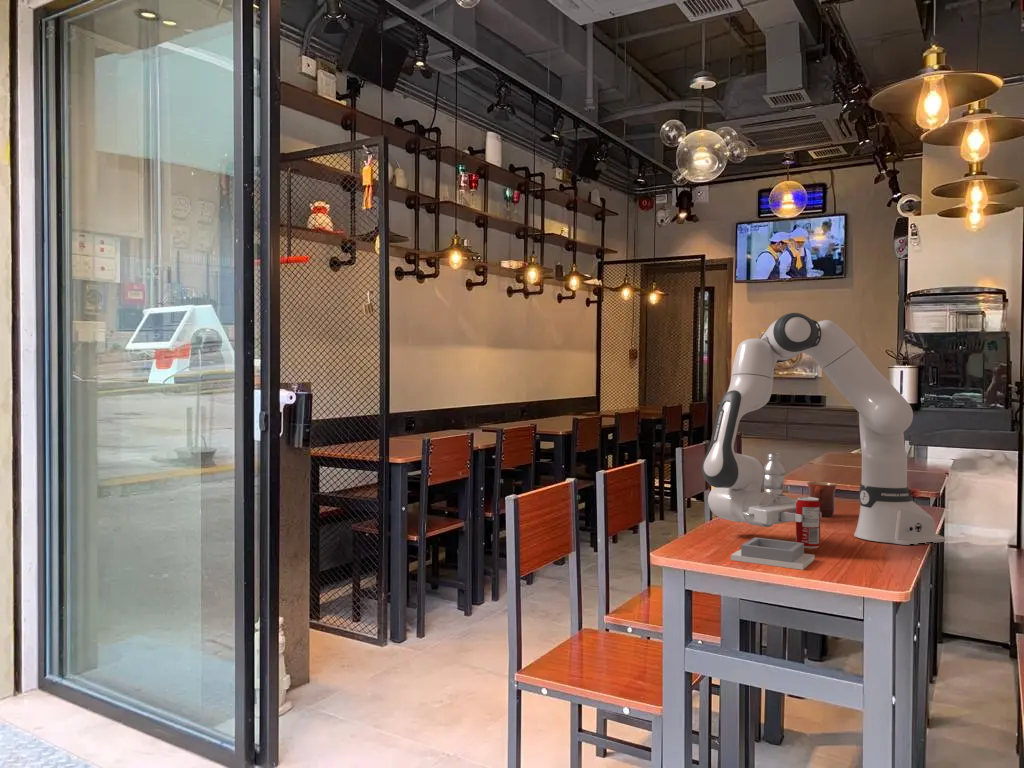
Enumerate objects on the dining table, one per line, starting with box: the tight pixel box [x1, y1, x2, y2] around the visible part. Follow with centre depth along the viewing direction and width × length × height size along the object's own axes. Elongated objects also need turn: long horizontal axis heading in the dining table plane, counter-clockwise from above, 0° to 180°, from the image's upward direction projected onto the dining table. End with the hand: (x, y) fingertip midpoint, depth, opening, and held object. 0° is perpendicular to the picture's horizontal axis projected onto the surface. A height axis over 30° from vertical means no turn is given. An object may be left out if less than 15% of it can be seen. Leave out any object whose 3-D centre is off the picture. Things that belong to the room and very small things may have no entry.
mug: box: [806, 481, 838, 518], centre depth 242 cm, size 12×9×10 cm
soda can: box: [795, 496, 821, 549], centre depth 188 cm, size 6×6×12 cm
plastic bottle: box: [763, 452, 786, 495], centre depth 236 cm, size 6×7×20 cm
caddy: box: [730, 537, 815, 571], centre depth 179 cm, size 12×16×4 cm
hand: (811, 517), depth 187 cm, fingers closed on soda can, 6 cm apart
